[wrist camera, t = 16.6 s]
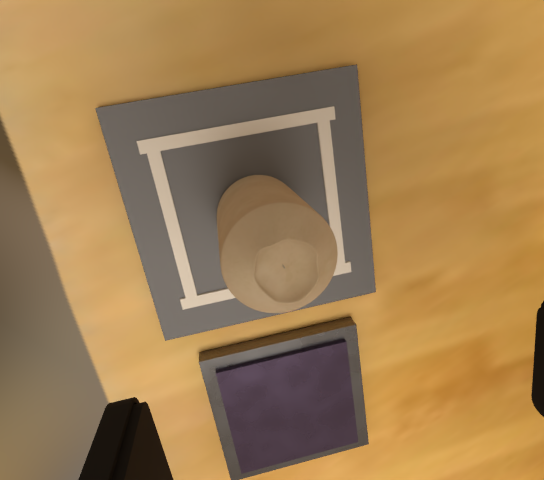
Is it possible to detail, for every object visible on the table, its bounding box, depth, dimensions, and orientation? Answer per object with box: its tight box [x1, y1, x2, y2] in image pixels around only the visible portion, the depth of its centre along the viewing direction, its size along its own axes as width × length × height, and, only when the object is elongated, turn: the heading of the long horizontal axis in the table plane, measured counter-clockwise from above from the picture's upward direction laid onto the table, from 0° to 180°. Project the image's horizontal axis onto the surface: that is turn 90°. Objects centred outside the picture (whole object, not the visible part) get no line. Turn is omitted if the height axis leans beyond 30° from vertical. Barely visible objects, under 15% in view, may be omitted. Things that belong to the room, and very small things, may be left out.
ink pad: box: [199, 317, 369, 480], centre depth 30 cm, size 12×12×2 cm
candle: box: [217, 175, 338, 313], centre depth 21 cm, size 6×6×10 cm
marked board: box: [95, 65, 376, 341], centre depth 26 cm, size 16×16×1 cm
